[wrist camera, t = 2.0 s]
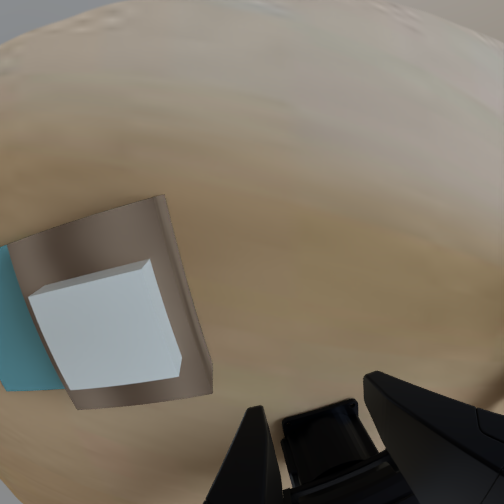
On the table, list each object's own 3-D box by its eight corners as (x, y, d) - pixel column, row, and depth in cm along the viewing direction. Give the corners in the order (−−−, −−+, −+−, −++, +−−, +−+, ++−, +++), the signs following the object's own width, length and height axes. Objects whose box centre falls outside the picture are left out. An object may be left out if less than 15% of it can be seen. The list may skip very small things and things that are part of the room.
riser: (164, 194, 19) (153, 197, 15) (212, 364, 22) (212, 393, 18) (34, 234, 18) (6, 244, 15) (91, 382, 21) (77, 409, 18)
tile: (149, 258, 16) (141, 269, 14) (182, 357, 17) (178, 376, 15) (44, 285, 16) (27, 296, 14) (81, 372, 17) (70, 390, 15)
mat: (30, 236, 18) (26, 237, 18) (87, 383, 21) (85, 386, 21) (-44, 264, 18) (-47, 266, 17) (8, 388, 20) (6, 391, 20)
